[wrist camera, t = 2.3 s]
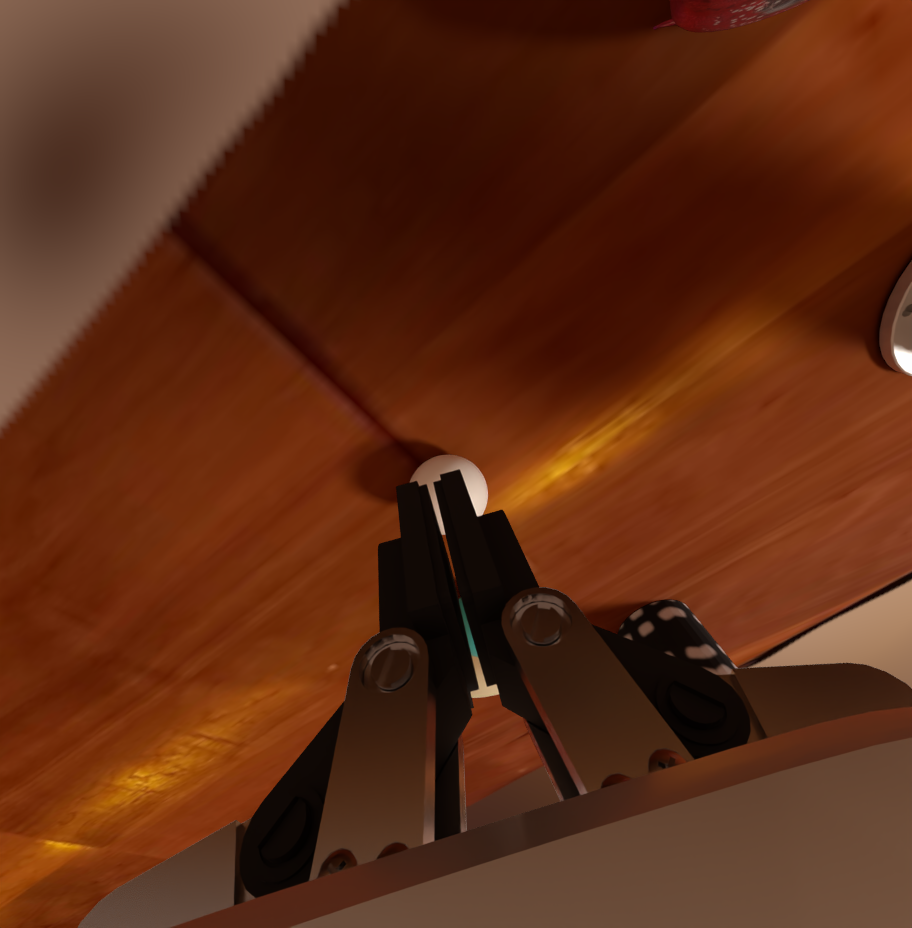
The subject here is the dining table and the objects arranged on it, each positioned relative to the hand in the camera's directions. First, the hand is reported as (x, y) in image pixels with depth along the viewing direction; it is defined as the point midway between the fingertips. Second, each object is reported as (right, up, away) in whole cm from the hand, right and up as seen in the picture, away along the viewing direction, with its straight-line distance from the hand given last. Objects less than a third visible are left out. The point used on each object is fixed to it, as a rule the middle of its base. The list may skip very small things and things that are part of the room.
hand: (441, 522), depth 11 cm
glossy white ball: (0, -1, +18) cm, 18 cm away
